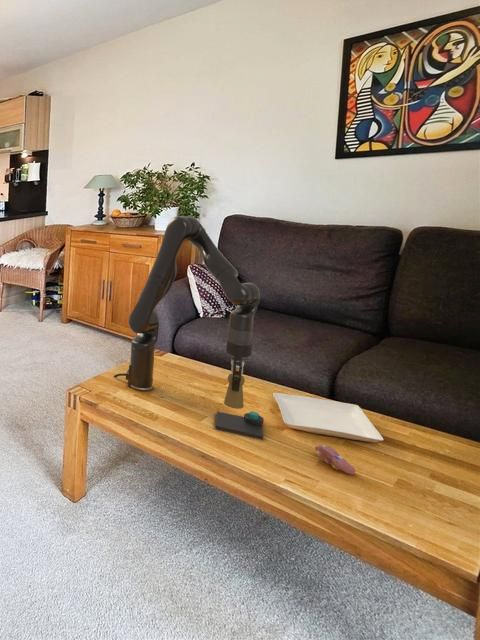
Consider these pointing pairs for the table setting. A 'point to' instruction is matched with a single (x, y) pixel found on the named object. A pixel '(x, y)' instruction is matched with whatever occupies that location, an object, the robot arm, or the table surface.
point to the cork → (234, 394)
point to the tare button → (253, 415)
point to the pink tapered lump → (334, 459)
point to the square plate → (326, 417)
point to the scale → (240, 425)
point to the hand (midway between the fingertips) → (235, 387)
